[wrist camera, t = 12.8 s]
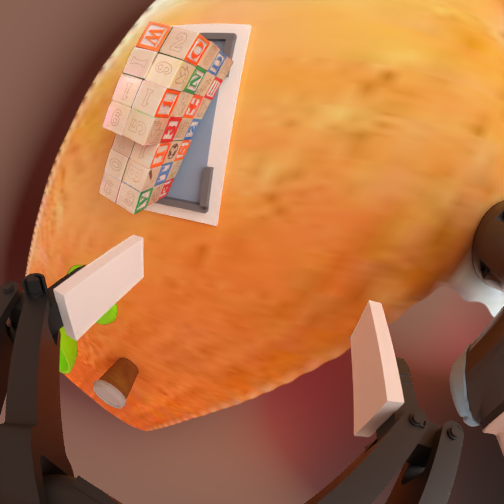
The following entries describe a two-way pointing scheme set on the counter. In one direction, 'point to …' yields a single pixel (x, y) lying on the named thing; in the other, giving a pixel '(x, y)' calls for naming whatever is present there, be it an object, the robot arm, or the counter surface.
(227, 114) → the blueprint board
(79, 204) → the counter surface
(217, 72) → the stack of blocks
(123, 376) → the disposable coffee cup
